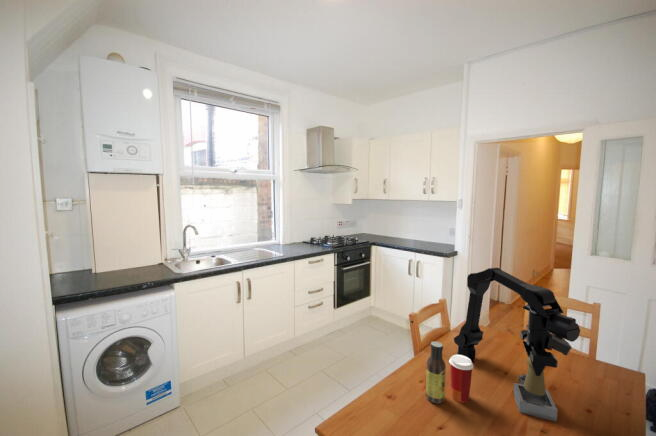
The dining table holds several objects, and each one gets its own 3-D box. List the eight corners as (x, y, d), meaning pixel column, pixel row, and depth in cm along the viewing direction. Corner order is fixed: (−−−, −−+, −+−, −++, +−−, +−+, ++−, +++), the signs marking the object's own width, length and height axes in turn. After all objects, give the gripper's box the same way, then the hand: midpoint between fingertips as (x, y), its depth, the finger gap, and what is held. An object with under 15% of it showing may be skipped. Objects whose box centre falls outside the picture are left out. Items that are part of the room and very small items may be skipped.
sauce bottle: (445, 406, 97) (447, 350, 96) (425, 402, 99) (427, 347, 97) (443, 394, 103) (445, 341, 102) (425, 390, 105) (427, 338, 103)
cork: (538, 383, 99) (540, 353, 99) (549, 396, 94) (552, 364, 93) (519, 382, 100) (521, 352, 99) (530, 394, 94) (532, 363, 93)
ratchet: (519, 415, 95) (520, 401, 94) (508, 380, 112) (509, 368, 112) (556, 424, 91) (557, 410, 90) (539, 387, 108) (540, 375, 108)
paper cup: (470, 392, 104) (471, 355, 103) (473, 407, 97) (475, 368, 96) (447, 387, 107) (448, 352, 105) (448, 402, 99) (450, 363, 98)
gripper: (581, 345, 83) (576, 395, 85) (559, 319, 100) (555, 361, 102) (535, 337, 87) (531, 385, 89) (521, 314, 105) (518, 354, 106)
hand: (535, 371), depth 96 cm, fingers closed on cork, 5 cm apart
